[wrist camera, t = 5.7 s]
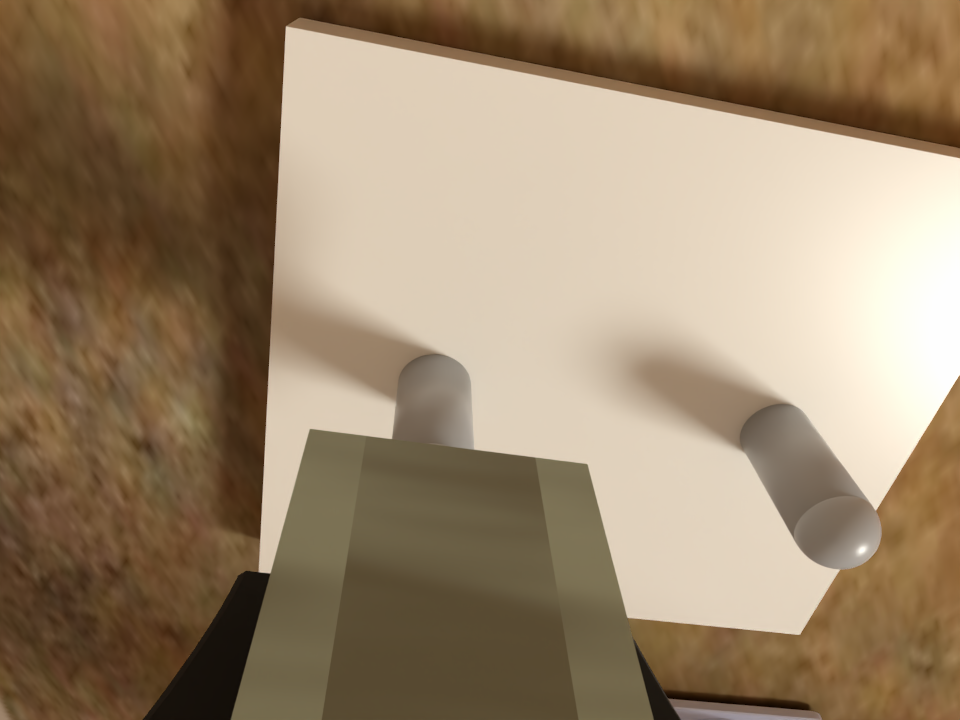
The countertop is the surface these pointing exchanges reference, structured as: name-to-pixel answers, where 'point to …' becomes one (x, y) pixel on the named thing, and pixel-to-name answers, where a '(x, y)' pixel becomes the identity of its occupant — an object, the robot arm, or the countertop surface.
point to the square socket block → (440, 592)
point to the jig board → (614, 305)
